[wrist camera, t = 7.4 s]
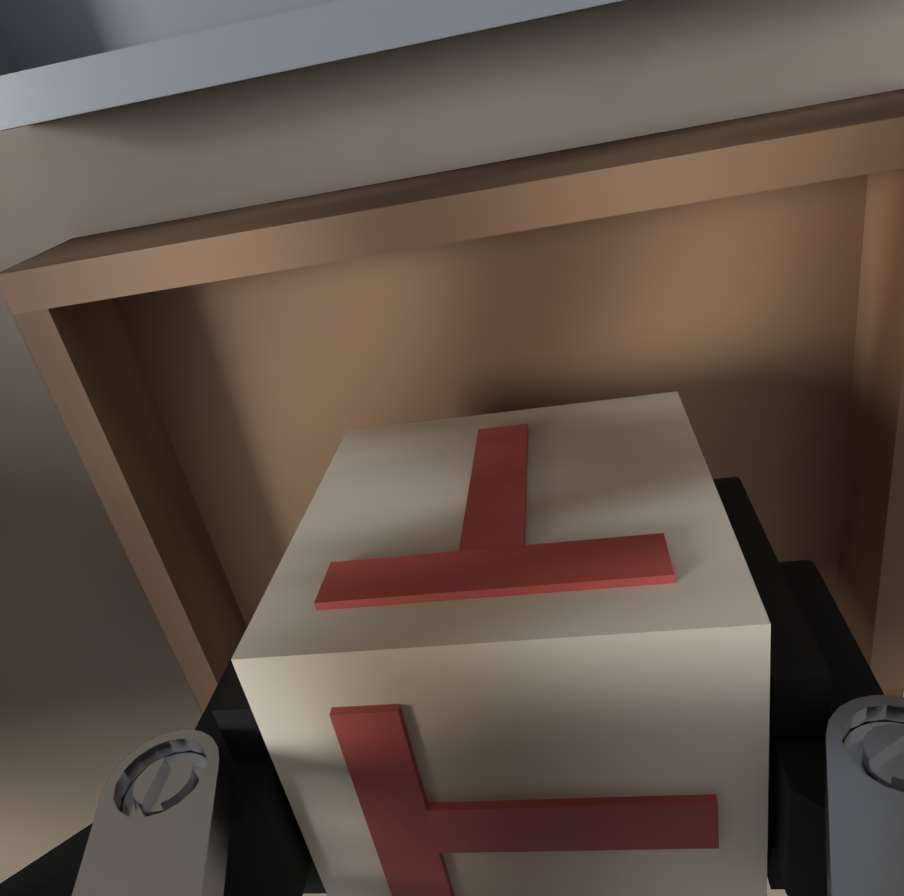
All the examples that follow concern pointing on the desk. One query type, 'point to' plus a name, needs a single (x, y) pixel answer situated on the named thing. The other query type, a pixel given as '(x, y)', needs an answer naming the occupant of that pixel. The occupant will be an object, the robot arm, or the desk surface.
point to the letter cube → (519, 662)
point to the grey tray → (209, 43)
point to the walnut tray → (499, 345)
